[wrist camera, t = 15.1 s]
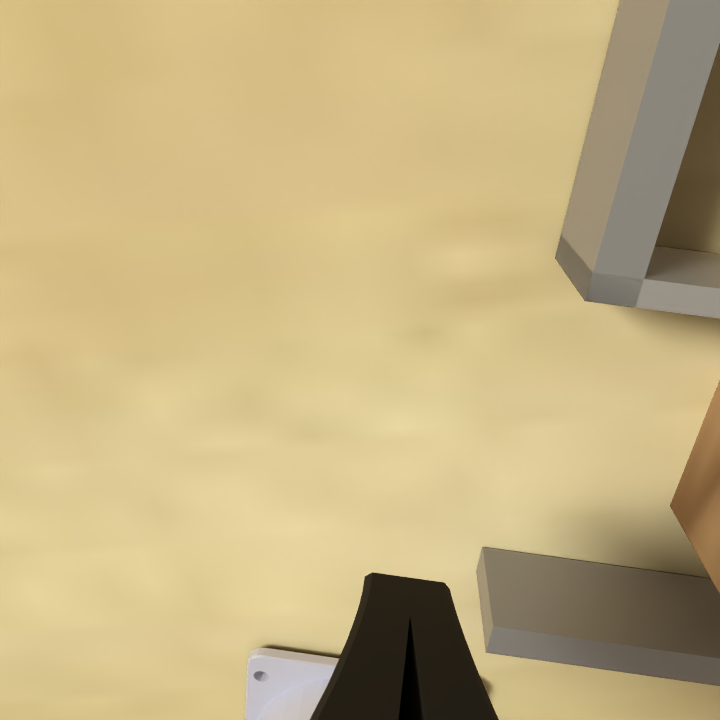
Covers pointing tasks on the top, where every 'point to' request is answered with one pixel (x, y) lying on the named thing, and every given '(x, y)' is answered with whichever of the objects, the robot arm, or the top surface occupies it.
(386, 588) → the robot arm
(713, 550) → the block
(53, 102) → the top surface
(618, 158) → the housing
